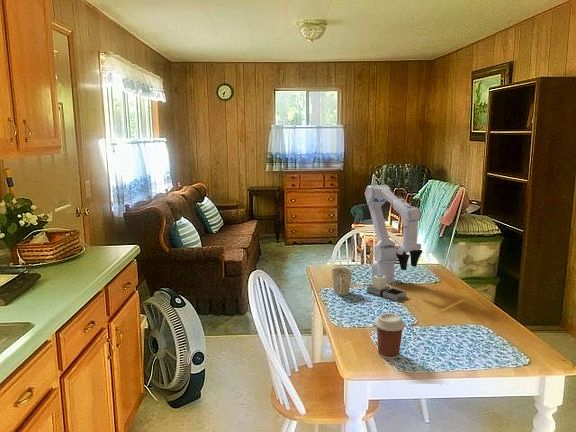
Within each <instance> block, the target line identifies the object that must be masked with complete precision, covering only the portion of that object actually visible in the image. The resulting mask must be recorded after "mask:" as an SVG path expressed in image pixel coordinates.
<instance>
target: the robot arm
mask: <svg viewBox="0 0 576 432" xmlns="http://www.w3.org/2000/svg"><path fill="white" fill-rule="evenodd" d="M364 196H365V200H366V203H367V204H366V205H367V206H368V210H369V213H370V217H371V220H372V224H373V228H374V232H375V237H376V240H377V242H376V244H374V247H373V252H374V255H373V256H374V259H375V260H374V261H373V263H372V267H371V269H372V270H371V271H372V272H371V278H370V281H373V276H375V275H378V274H383V276H386V285H387V284H388V285H389V284H392V283H393V282H396V281H398V279H397V278H395V263H396V262H397V260H398V262H399V266H400V270H402V271H407V268H408V262H409V258H410V266H412V267H417V266H418V262H419V260H420V257H421V255H422V253H423V250H422V244H420V243H418V229H419V221H421V219H422V211H421V210H420V208H419V207H418V206H417V207H416V206H415V207H414V206H412V205H411V204H409V203H408V202H407V201H406V199H405V198H401V197H400V198H398V197H397V196H396V195H395V194H394V193H393V192H392V190H391V187H389V185H388V184H379V185H377V184H376V185H367V186H366V188H365V192H364ZM386 201H387V202H388V203H390V204H391V205H392V209H393V210H394V211H395V212H397V214H399V215H400V219H401V223H402V226H403V228H402V229H403V231H402V232H403V233H402V246H401V247H399V248H397V246H396V243H395V242H394V241H392V240H391V239H390V237H389V233H388V229H387V225H386V222H385V218H384V213H383V209H382V206H383V205H384V204H385V203H386ZM407 253H409V254H407Z"/></svg>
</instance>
